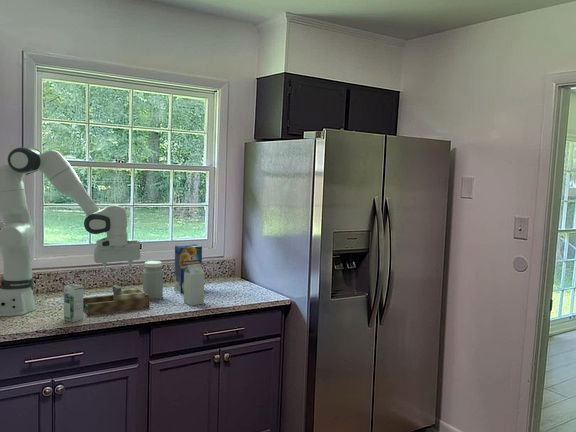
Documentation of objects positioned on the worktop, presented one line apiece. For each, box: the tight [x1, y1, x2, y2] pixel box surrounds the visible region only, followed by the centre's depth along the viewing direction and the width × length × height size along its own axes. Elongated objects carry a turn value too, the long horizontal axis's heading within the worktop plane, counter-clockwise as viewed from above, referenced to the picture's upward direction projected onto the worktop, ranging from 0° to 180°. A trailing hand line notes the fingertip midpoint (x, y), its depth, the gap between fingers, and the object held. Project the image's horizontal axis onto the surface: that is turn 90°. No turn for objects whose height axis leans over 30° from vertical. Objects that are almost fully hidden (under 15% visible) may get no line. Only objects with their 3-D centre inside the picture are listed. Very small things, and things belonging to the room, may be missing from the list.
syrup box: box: [63, 283, 84, 323], centre depth 219 cm, size 6×6×14 cm
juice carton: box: [174, 244, 203, 295], centre depth 274 cm, size 12×8×24 cm, turn 128°
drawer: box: [112, 284, 145, 301], centre depth 241 cm, size 13×9×9 cm
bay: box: [83, 293, 150, 317], centre depth 238 cm, size 27×12×6 cm, turn 124°
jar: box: [142, 260, 164, 301], centre depth 258 cm, size 10×10×18 cm
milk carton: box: [183, 264, 205, 306], centre depth 251 cm, size 7×7×19 cm
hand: (117, 271), depth 237 cm, fingers open, 8 cm apart
